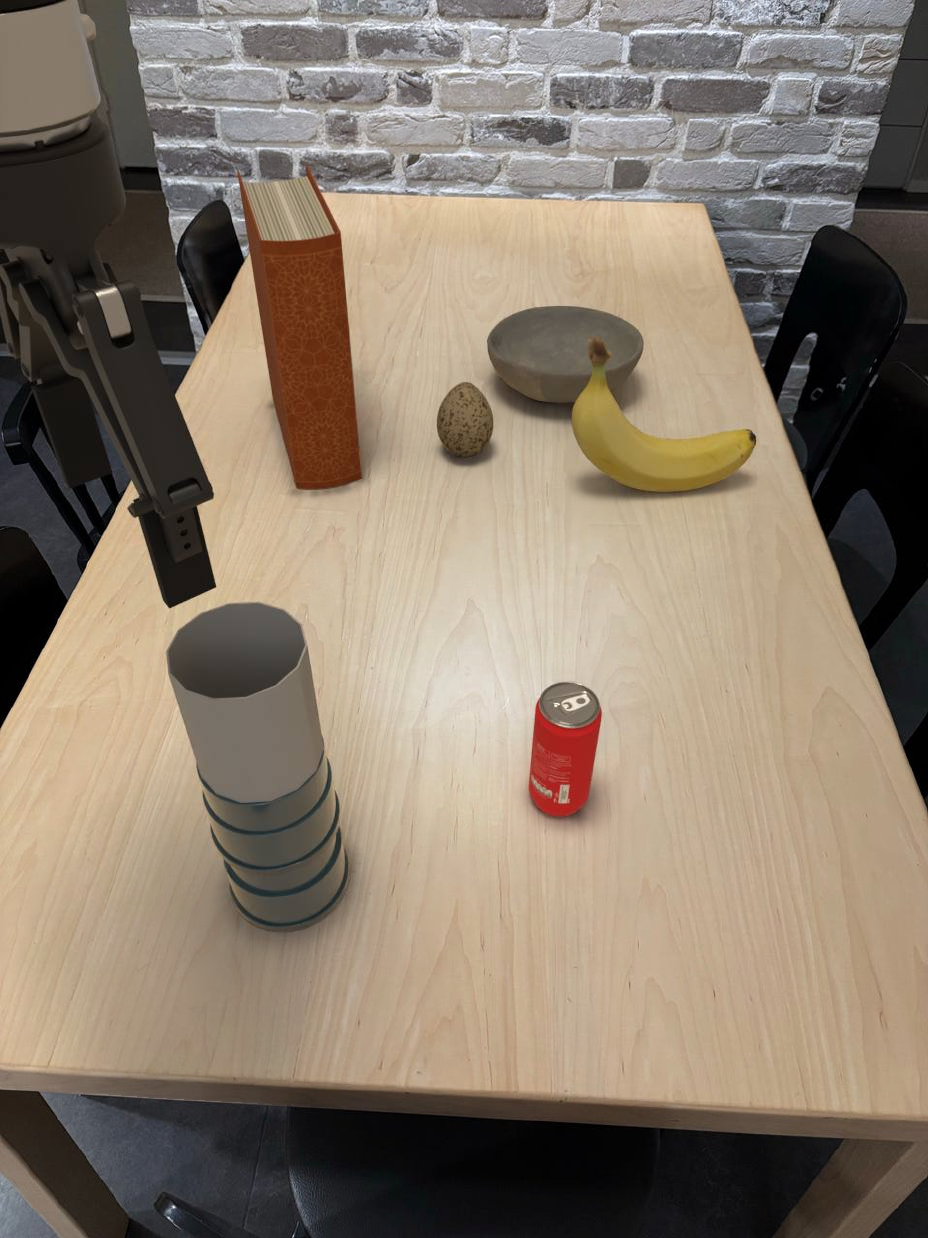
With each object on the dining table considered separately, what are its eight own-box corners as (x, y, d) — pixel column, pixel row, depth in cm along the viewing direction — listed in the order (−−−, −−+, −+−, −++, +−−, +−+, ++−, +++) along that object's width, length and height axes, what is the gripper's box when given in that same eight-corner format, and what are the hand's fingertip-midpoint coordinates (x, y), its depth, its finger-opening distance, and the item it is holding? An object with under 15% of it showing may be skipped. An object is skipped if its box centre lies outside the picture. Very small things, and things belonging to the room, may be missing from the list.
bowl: (544, 444, 119) (549, 389, 113) (457, 377, 131) (457, 325, 126) (666, 399, 127) (675, 346, 122) (573, 340, 140) (578, 290, 134)
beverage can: (517, 783, 80) (524, 691, 71) (569, 763, 81) (582, 671, 73) (545, 829, 76) (556, 738, 68) (599, 808, 78) (615, 716, 70)
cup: (175, 748, 62) (140, 644, 55) (276, 687, 66) (255, 583, 59) (244, 825, 58) (215, 723, 51) (347, 755, 62) (333, 652, 55)
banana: (737, 467, 115) (775, 317, 101) (752, 494, 111) (794, 341, 97) (561, 477, 113) (575, 325, 100) (569, 505, 109) (585, 350, 95)
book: (272, 399, 127) (237, 170, 106) (331, 391, 128) (307, 164, 108) (297, 493, 111) (261, 244, 90) (363, 482, 112) (342, 236, 92)
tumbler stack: (270, 956, 68) (234, 836, 57) (209, 870, 73) (165, 745, 62) (372, 884, 72) (357, 759, 61) (308, 808, 78) (283, 680, 67)
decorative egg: (501, 461, 116) (504, 391, 109) (448, 473, 114) (448, 402, 107) (479, 433, 121) (481, 364, 114) (429, 444, 119) (427, 374, 112)
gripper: (240, 185, 32) (307, 621, 47) (1, 52, 46) (110, 419, 61) (27, 234, 29) (171, 689, 43) (-161, 74, 43) (-4, 458, 57)
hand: (136, 532), depth 52 cm, fingers open, 13 cm apart
